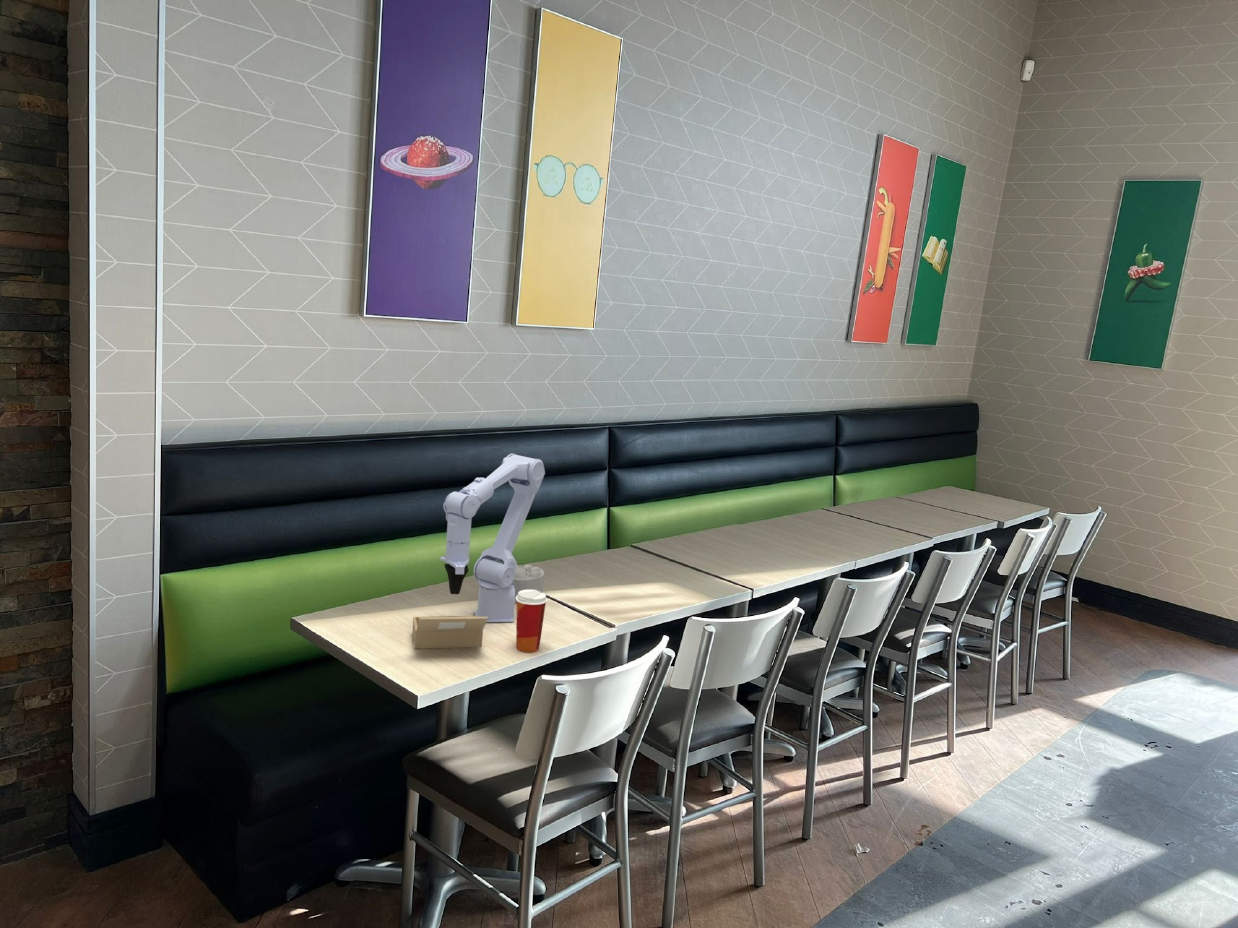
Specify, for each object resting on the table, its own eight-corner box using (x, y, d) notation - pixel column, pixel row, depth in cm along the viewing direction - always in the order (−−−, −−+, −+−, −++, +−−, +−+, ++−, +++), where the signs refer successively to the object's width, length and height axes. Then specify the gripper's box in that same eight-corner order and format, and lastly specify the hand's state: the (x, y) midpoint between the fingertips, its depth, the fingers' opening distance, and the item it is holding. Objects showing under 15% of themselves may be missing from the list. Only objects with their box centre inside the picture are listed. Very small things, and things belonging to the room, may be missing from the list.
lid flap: (487, 616, 214) (487, 618, 214) (482, 629, 221) (482, 631, 221) (419, 617, 209) (419, 619, 209) (416, 630, 217) (416, 632, 217)
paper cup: (527, 639, 229) (531, 586, 227) (549, 649, 225) (554, 595, 222) (505, 647, 223) (508, 592, 221) (527, 657, 219) (531, 601, 216)
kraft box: (477, 632, 231) (478, 615, 230) (481, 646, 222) (482, 629, 222) (412, 633, 226) (413, 616, 225) (414, 648, 218) (415, 630, 217)
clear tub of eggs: (493, 596, 258) (496, 567, 257) (524, 586, 269) (526, 558, 267) (521, 606, 252) (523, 576, 251) (551, 596, 263) (554, 567, 261)
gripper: (439, 532, 231) (435, 583, 233) (444, 548, 217) (440, 603, 219) (467, 532, 233) (463, 583, 235) (474, 549, 219) (470, 603, 221)
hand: (454, 593), depth 227 cm, fingers closed
